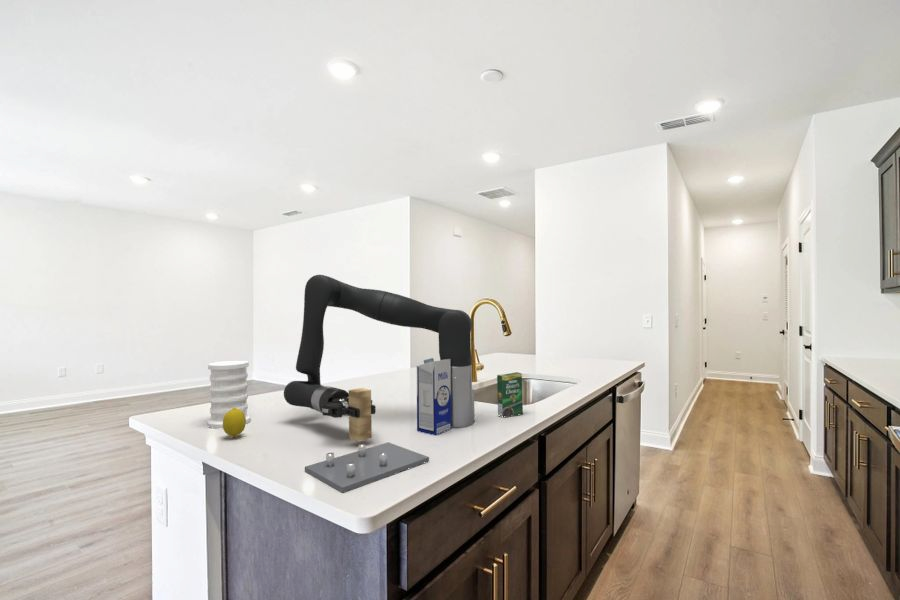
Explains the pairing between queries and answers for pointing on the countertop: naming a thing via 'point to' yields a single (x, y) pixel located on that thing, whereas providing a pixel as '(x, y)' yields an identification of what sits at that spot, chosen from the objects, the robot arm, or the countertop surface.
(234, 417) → the lemon
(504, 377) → the coffee box
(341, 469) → the plate
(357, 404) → the oak block
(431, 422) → the milk carton
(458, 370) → the robot arm
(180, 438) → the countertop surface
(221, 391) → the decorative container
